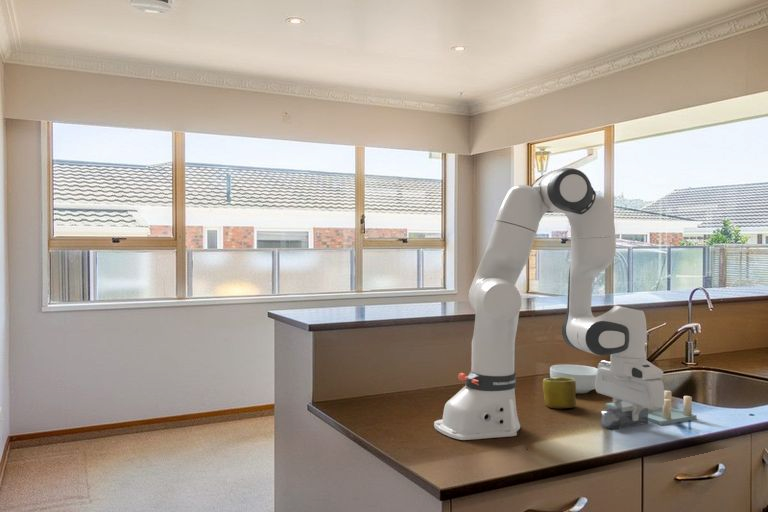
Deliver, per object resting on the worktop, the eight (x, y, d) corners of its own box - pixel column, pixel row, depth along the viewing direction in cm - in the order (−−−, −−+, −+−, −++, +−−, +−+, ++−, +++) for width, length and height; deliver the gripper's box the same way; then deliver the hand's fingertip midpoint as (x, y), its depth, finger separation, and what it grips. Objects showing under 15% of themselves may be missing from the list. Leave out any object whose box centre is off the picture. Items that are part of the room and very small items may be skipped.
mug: (584, 406, 165) (573, 371, 167) (548, 415, 167) (537, 380, 170) (581, 403, 177) (571, 371, 179) (548, 411, 179) (538, 379, 181)
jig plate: (660, 425, 154) (660, 402, 154) (605, 406, 172) (605, 386, 171) (696, 418, 160) (696, 397, 160) (640, 401, 177) (640, 382, 177)
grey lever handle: (610, 430, 150) (610, 414, 150) (597, 425, 154) (597, 410, 154) (650, 423, 156) (650, 408, 156) (636, 418, 160) (636, 404, 160)
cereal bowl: (608, 398, 181) (608, 375, 181) (552, 395, 184) (552, 373, 184) (598, 385, 198) (598, 364, 198) (547, 383, 201) (547, 362, 200)
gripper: (590, 359, 163) (589, 408, 164) (650, 374, 145) (650, 430, 145) (606, 358, 166) (606, 406, 166) (668, 372, 147) (668, 427, 148)
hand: (627, 417), depth 155 cm, fingers closed on grey lever handle, 3 cm apart
